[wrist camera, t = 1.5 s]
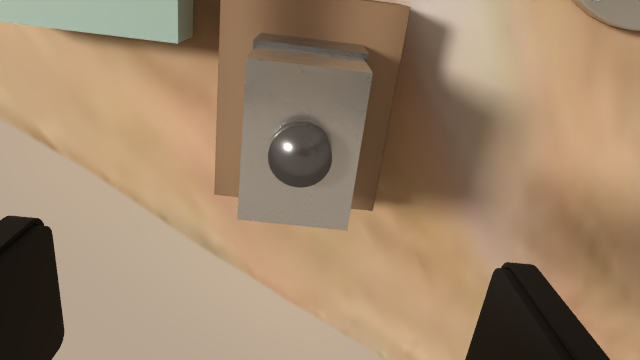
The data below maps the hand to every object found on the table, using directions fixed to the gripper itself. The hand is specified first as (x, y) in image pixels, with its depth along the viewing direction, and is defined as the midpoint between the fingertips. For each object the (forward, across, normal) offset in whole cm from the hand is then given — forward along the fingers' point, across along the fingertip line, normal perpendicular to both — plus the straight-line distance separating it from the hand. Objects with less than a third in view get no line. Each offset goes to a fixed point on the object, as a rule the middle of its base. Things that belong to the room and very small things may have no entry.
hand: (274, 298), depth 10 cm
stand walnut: (+18, 0, 0) cm, 18 cm away
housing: (+15, 0, 0) cm, 15 cm away
